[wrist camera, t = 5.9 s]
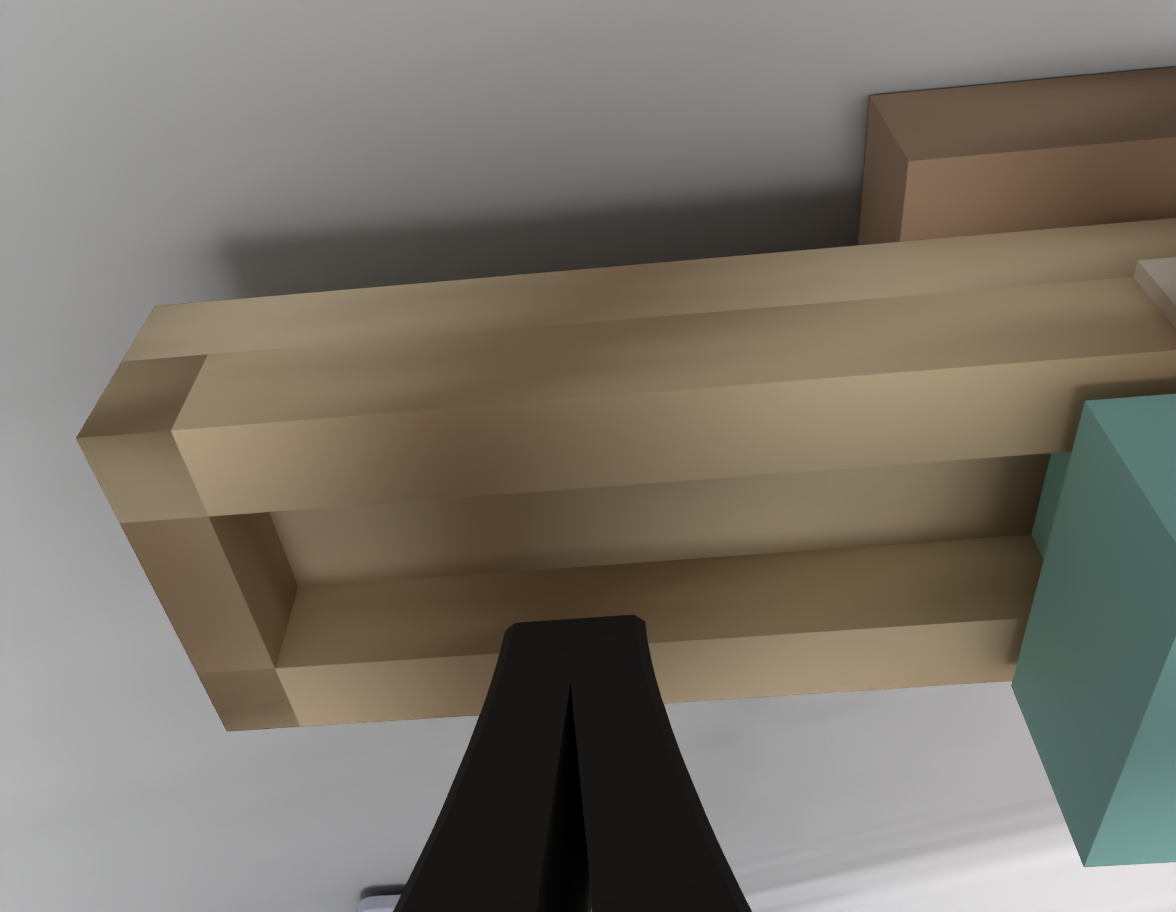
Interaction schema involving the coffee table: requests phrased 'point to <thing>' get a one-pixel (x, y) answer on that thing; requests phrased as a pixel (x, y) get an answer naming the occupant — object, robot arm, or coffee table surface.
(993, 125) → the tan wooden slatted block
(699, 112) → the coffee table surface
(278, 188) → the coffee table surface
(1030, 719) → the teal cube
